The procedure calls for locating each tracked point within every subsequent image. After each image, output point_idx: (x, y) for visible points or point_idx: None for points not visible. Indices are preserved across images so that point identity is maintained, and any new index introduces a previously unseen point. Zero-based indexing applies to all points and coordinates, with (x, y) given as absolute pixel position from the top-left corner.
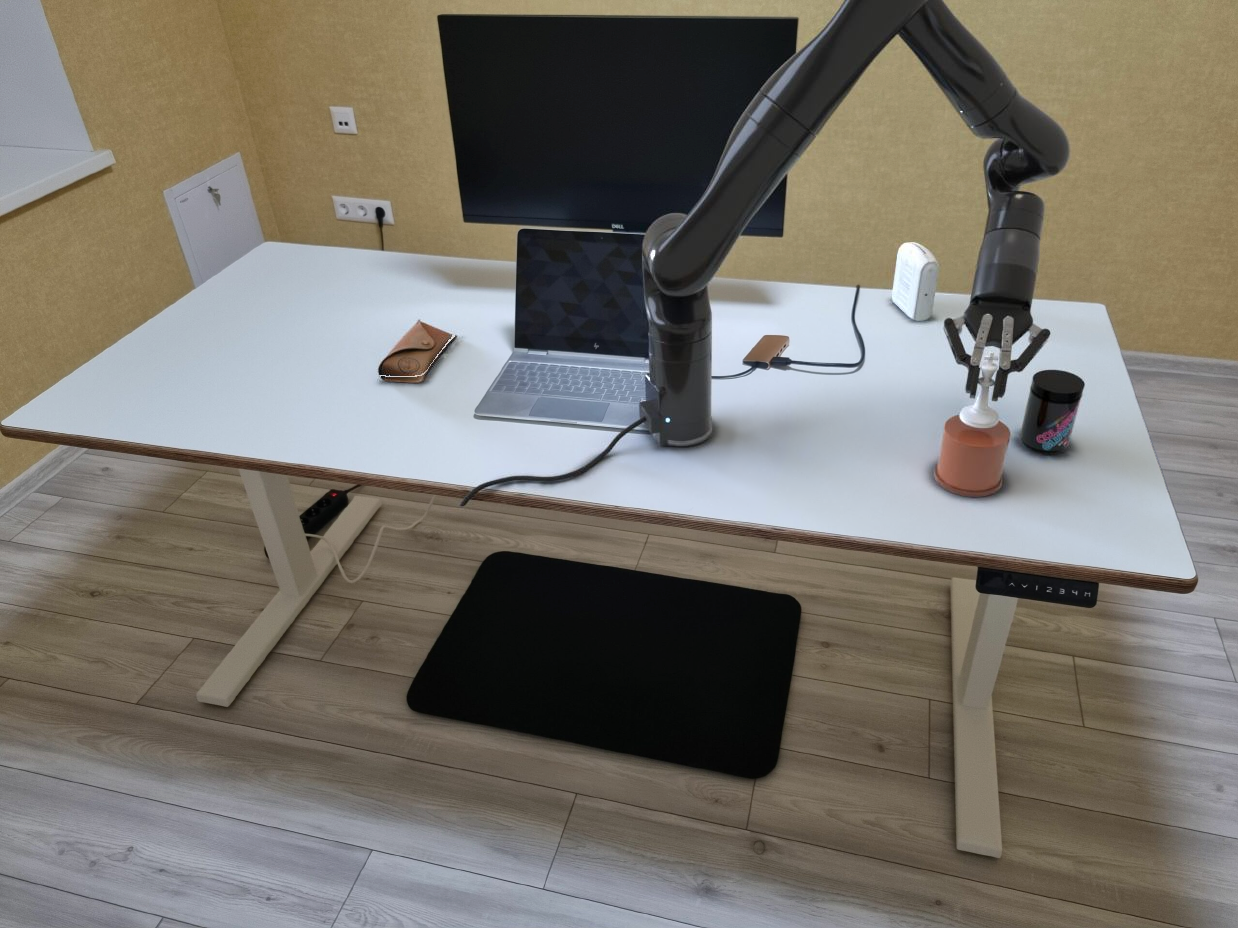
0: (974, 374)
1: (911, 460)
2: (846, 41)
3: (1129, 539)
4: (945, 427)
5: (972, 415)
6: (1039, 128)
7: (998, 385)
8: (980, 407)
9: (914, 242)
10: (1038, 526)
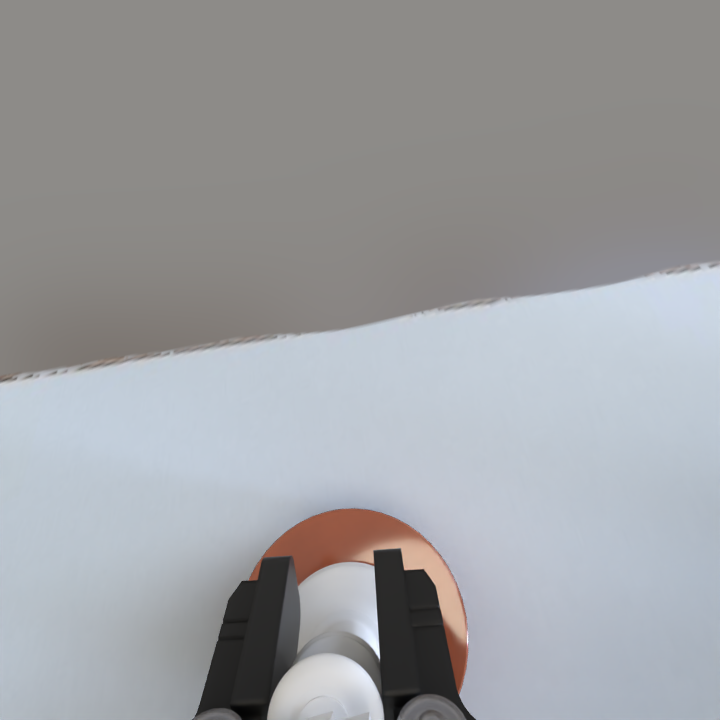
0: (409, 640)
1: (518, 645)
2: None
3: (8, 481)
4: (459, 601)
5: (374, 602)
6: None
7: (262, 602)
8: (347, 623)
9: None
10: (190, 458)
